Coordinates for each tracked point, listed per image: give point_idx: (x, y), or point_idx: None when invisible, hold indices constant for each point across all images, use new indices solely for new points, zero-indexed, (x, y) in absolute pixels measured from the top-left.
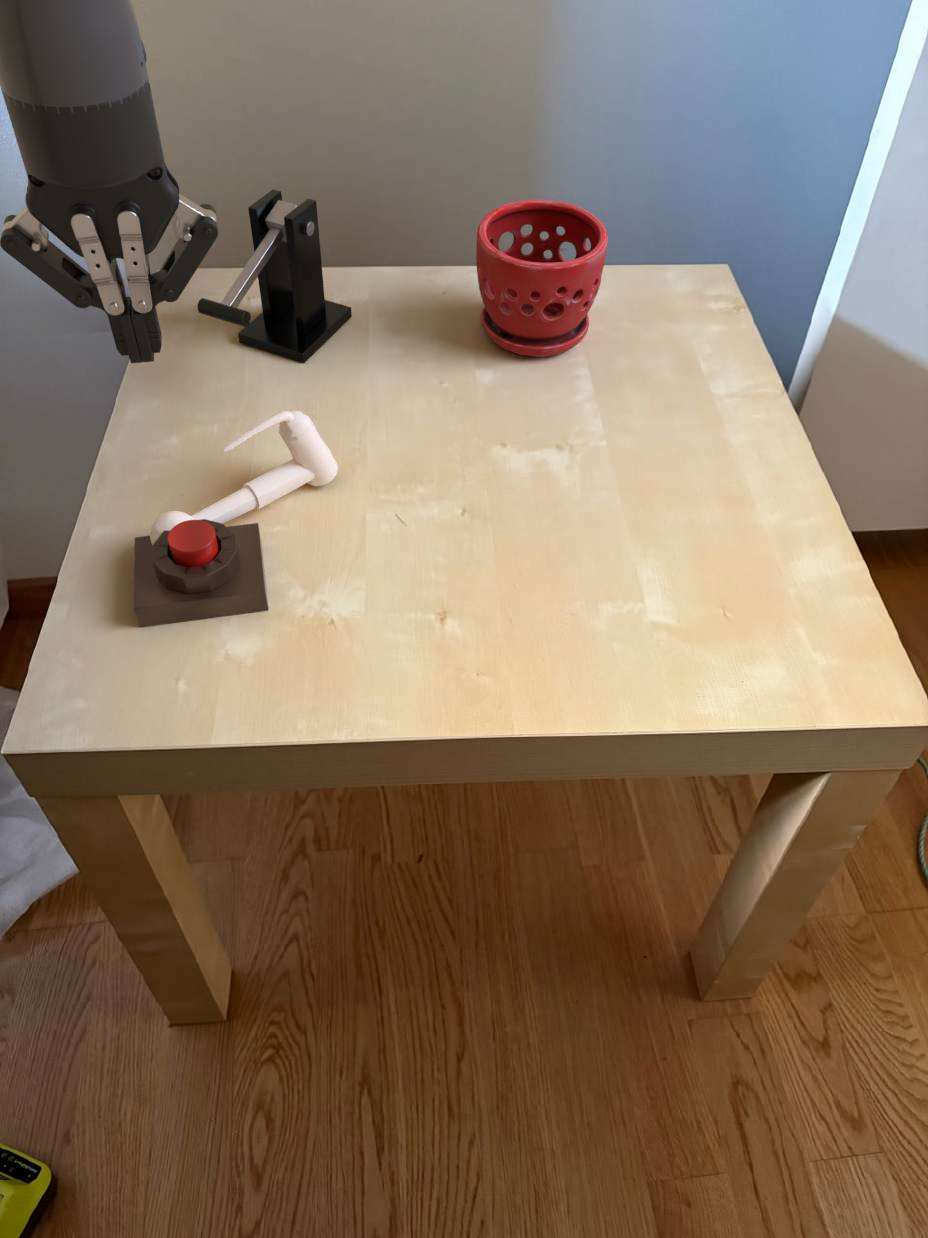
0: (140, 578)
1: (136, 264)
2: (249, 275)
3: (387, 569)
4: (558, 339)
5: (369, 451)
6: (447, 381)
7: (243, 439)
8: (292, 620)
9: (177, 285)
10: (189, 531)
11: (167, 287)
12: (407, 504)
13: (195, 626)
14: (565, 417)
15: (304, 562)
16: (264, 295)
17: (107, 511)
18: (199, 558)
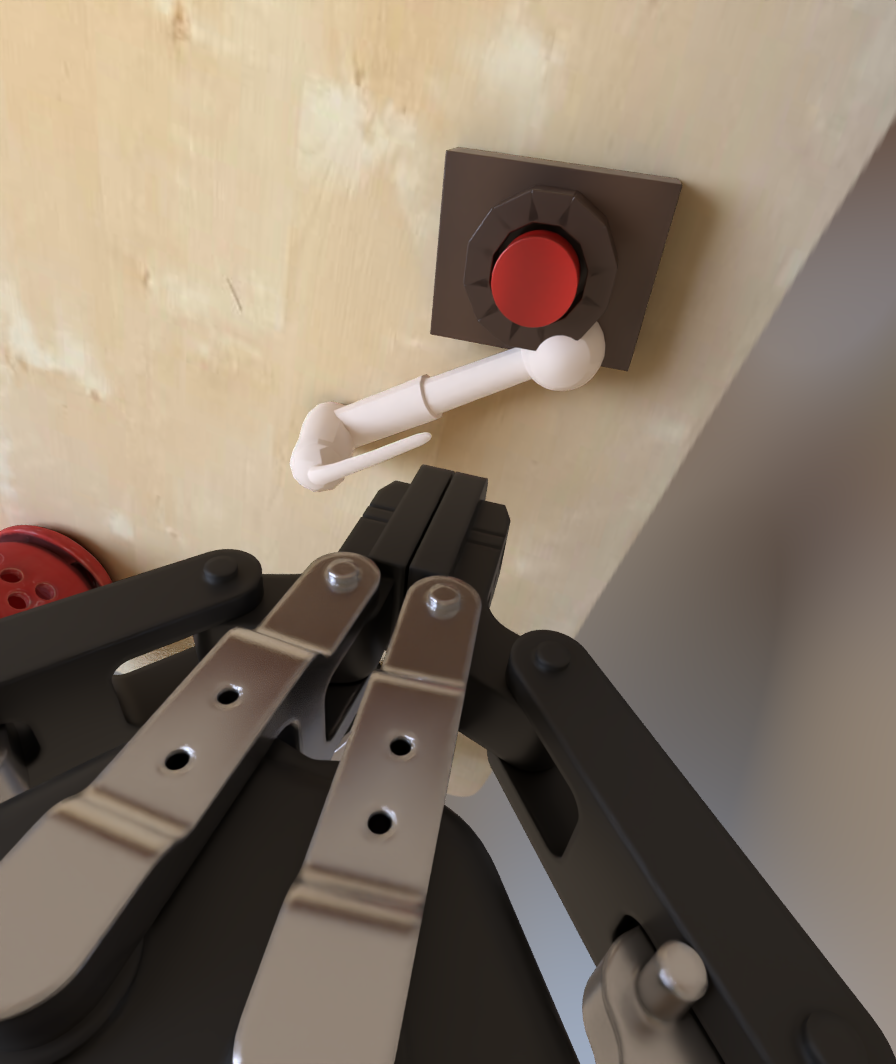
0: (646, 264)
1: (229, 690)
2: (337, 750)
3: (260, 185)
4: (19, 540)
5: (269, 450)
6: (166, 534)
7: (391, 445)
8: (422, 105)
9: (171, 584)
10: (534, 295)
11: (209, 589)
12: (223, 325)
13: (585, 148)
14: (19, 417)
15: (384, 249)
16: (350, 729)
17: (648, 469)
18: (534, 233)
